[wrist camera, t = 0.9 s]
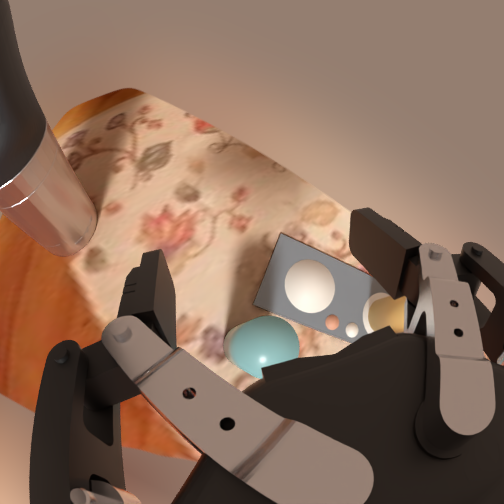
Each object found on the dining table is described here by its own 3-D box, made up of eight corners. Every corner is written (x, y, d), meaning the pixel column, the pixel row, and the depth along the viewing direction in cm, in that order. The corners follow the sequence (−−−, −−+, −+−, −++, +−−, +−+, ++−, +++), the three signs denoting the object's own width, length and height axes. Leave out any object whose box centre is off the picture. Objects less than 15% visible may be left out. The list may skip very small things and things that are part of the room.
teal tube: (216, 358, 30) (225, 366, 20) (233, 317, 32) (250, 305, 22) (257, 373, 30) (286, 387, 20) (273, 333, 32) (307, 328, 22)
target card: (252, 304, 33) (253, 304, 33) (280, 234, 37) (281, 233, 36) (401, 360, 34) (402, 360, 34) (414, 298, 38) (416, 298, 37)
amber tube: (363, 328, 34) (419, 318, 24) (372, 293, 36) (425, 273, 26) (391, 339, 34) (446, 331, 24) (398, 305, 36) (452, 289, 26)
